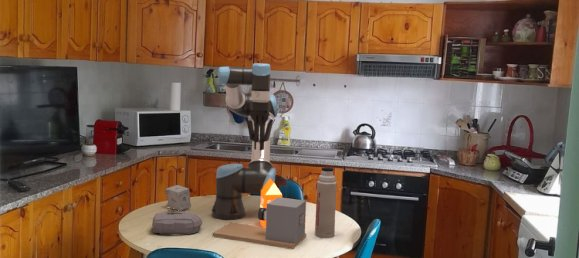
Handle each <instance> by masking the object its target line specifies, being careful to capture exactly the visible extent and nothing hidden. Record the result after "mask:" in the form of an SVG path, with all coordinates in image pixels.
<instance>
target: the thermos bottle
mask: <svg viewBox="0 0 579 258" xmlns="http://www.w3.org/2000/svg"><path fill="white" fill-rule="evenodd" d="M337 183H338V182H337V181H336V176H335V175H334V168H333V167H328V166H327V167H326V166H325V167H324V166H323V167H322V168H321V173H320V174H319V176H318V180H317V181H316V197H315V198H316V203H315V205H316V206H315V224H314V228H315V229H314V235H315V236H316V237H318V238H322V239H330V238H333V237H335V229H336V227H335V225H336V209H337V208H336V206H337Z"/></svg>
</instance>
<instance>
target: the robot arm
mask: <svg viewBox="0 0 579 258" xmlns="http://www.w3.org/2000/svg"><path fill="white" fill-rule="evenodd" d="M271 73H272V70H271V65H270V64H269V63H259V62H258V63H255V62H254V63H253V64H252V66H251V67H249V66H248V67H246V66H245V67H244V66H227V65H226V66H220V67H218V71H217V82H218V84H220V85H224V88H225V92H226V96H225V104H226V106H227V108H228V109H229V110H230V111H231V112H232V113H234V114H236V115H237V116H241V117H244V120H245V122H246V125H247V130H248V136H249V140H250V141H252V142H251V159H250V162H248V164H247V167H244V165H243V164H242V163H230V164H224V165H220V166H218V167H217V169H216V176H215V179H216V180H215V181H216V182H215V183H216V185H215V187H216V188H215V189H216V190H215V201H214V203H213V205H212V209H211V217H213V218H214V219H219V220H227V221H228V220H239V219H242V218H244V217H245V216H246V209H245V205H244V202H243V198H242V196H243V194H254V195H255V194H258V195H259V194H260V195H261V190H262V189H263V187H264V186H265V184H266V183H267V182H268V180H269V179H271V180H272V181H273V182H275V175H277V174H276V173H277V172H276V171H277V169H276V168H275V167H274V166H273V163H272V162H270V161H271V134H272V133H271V131H272V128H273V124H274V123H275V121H276V119H275V118H277V117H278V107H277V106H278V105H277V99H276V96H275V95H274V94H272V93H270V92H271V88H270V87H271ZM243 86H251V93H249V92H248V93H247V92H243Z"/></svg>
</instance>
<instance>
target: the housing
mask: <svg viewBox="0 0 579 258" xmlns="http://www.w3.org/2000/svg"><path fill="white" fill-rule="evenodd" d="M306 211H307V200H302V199H295V198H287V197H282V198H280V197H278V198H276V199H274V200H273V201H271V202H269V203H267V210H266V227H262V226H259V225H258V226H257V225H250V224H244V223H238V222H229V223H227V224H225V225H224V226H221V227H220V228H219V229H217V230H215V231H213V232H212V237H213V236H214V237H216V238H219V237H220V238H221V239H227V240H233V241H237V242H238V241H239V242H246V243H251V244H258V245H265V246H270V247H271V246H272V247H278V248H284V249H291V250H294V249H295V248H296V247H297V246H298V245H299V244H300V243H301V242H303V241H304V240H305V238H307V233H306V213H307V212H306ZM301 214H302V215H305V216H304V223H303V224H299V215H301Z"/></svg>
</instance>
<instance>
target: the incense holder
mask: <svg viewBox="0 0 579 258" xmlns="http://www.w3.org/2000/svg"><path fill="white" fill-rule="evenodd" d="M164 192H165V194H166V196H167V203H166V208H167V207H170V209H172V208H174V209H177V210H179V211H181V210H182V211H185V210H186V209H190V208H191V207H192V203H191V194H190V188H189V187H185V186H182V185H179V184H176V185H173V186H170V187H167V188H165V189H164ZM174 209H173V210H174ZM177 210H176V211H177Z"/></svg>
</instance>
